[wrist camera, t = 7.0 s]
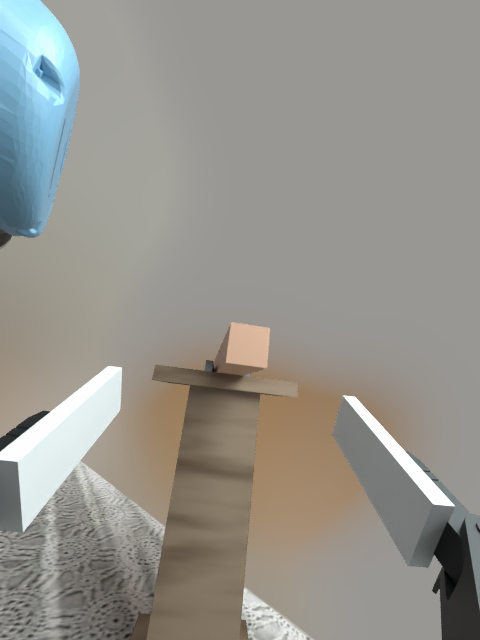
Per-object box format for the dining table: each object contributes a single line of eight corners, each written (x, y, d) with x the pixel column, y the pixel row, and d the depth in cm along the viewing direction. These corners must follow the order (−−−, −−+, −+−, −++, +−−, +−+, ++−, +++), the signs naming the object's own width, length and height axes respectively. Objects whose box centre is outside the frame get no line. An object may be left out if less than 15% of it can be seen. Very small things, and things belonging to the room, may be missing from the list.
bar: (266, 368, 17) (270, 328, 18) (225, 362, 17) (231, 322, 17) (229, 380, 40) (231, 362, 41) (212, 378, 39) (214, 360, 40)
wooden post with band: (287, 826, 16) (302, 370, 26) (48, 823, 15) (154, 351, 25) (256, 638, 29) (274, 377, 38) (123, 630, 28) (175, 365, 37)
